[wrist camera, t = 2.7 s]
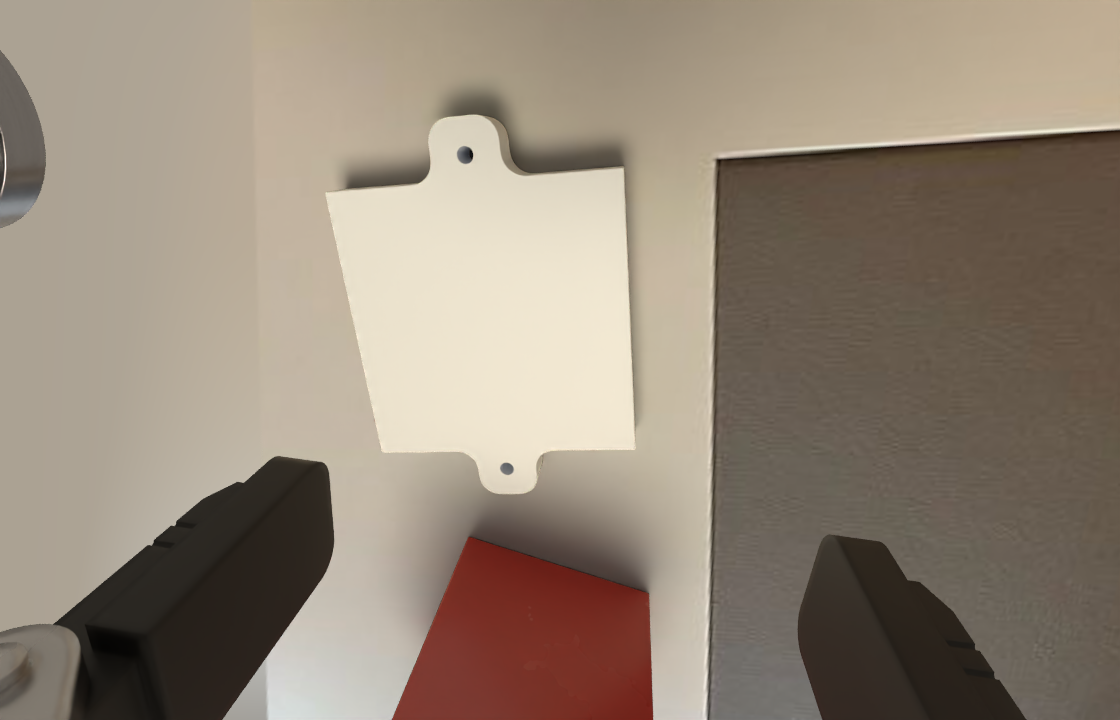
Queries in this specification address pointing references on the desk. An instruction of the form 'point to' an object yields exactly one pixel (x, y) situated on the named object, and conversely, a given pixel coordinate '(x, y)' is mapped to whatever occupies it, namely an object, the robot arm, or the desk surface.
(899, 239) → the desk surface
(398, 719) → the toaster
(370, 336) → the mounting plate
